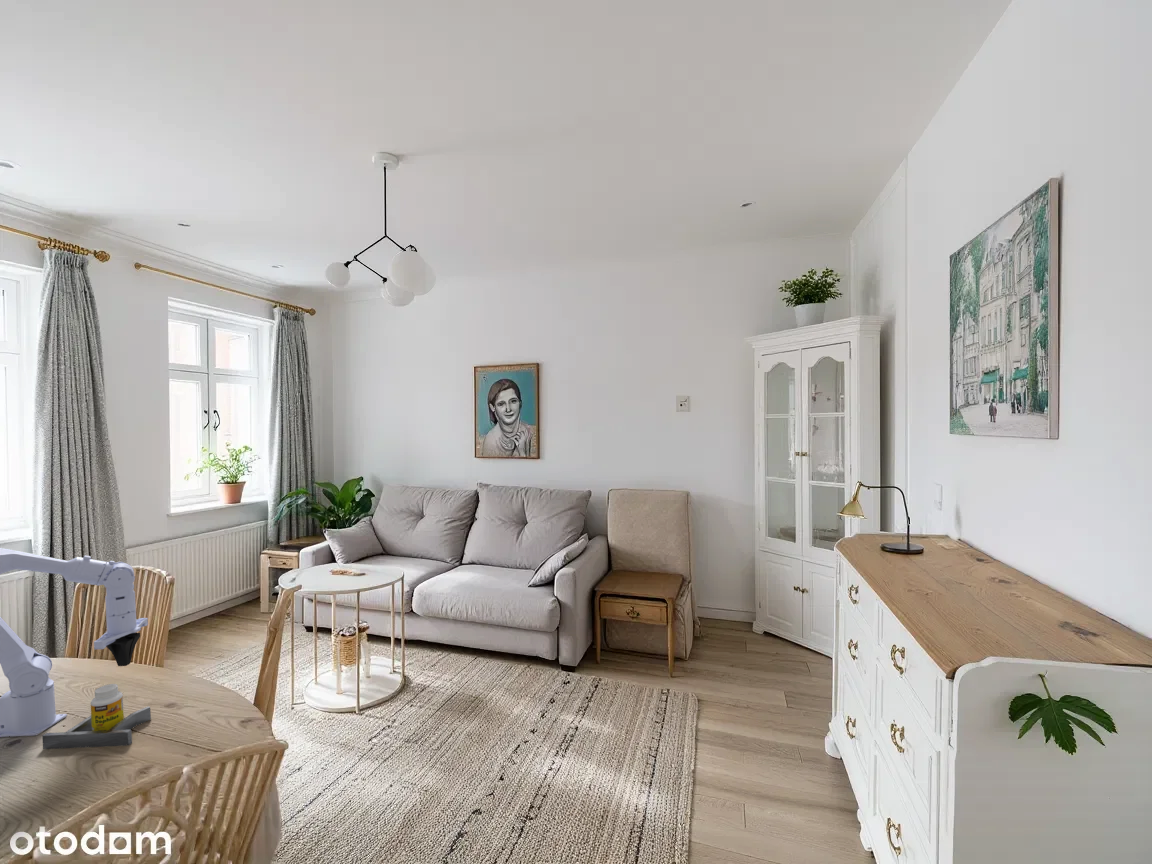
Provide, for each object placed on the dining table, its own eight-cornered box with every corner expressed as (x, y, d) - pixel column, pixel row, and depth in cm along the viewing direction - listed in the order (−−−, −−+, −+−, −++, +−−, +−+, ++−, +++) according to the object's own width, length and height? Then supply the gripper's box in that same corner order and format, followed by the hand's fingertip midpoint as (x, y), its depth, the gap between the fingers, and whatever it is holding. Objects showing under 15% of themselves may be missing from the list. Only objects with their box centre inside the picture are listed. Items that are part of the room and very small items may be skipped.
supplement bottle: (90, 742, 120) (88, 697, 119) (93, 730, 124) (91, 687, 124) (123, 732, 123) (121, 688, 123) (125, 721, 127) (122, 679, 127)
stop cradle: (43, 749, 117) (42, 735, 117) (84, 721, 128) (84, 708, 128) (128, 745, 118) (127, 732, 118) (163, 717, 129) (162, 705, 128)
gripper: (114, 622, 128) (117, 678, 129) (158, 601, 143) (161, 651, 143) (83, 623, 128) (86, 679, 129) (131, 601, 142) (133, 652, 143)
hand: (124, 664), depth 136 cm, fingers closed
